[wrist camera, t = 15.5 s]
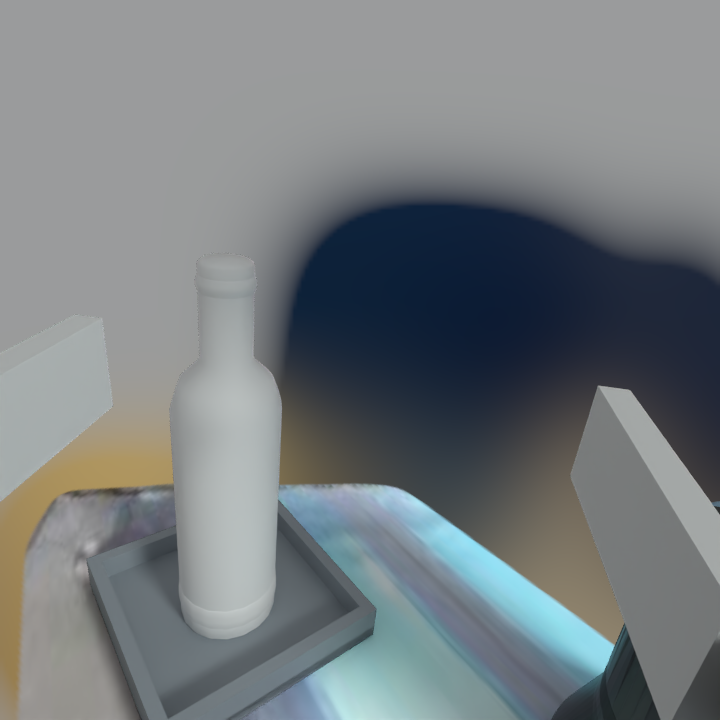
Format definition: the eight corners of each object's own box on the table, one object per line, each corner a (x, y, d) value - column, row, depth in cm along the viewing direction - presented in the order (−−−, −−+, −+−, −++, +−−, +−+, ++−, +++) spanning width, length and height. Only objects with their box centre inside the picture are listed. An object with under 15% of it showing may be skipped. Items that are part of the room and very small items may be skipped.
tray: (269, 512, 57) (270, 490, 56) (372, 634, 45) (376, 609, 44) (90, 584, 47) (86, 558, 45) (160, 770, 34) (157, 742, 33)
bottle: (159, 620, 43) (129, 260, 31) (214, 555, 50) (208, 239, 38) (245, 656, 41) (249, 284, 29) (290, 583, 48) (309, 258, 35)
